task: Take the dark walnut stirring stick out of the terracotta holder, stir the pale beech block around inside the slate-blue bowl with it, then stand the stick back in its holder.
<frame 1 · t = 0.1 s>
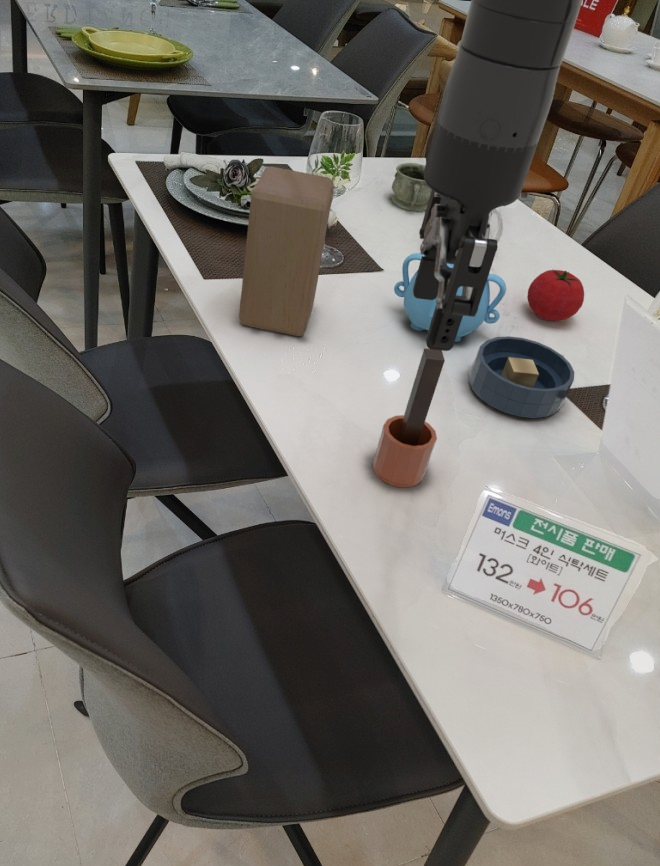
hand: (430, 321, 67), 26 cm above the table, tool pointing down, fingers open, 8 cm apart
alarm clock: (451, 192, 161), on the table
mug: (461, 253, 140), on the table
holder: (398, 470, 93), on the table
block: (514, 386, 108), point 1 cm above the table, touching bowl
wooden block: (276, 317, 115), on the table
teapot: (440, 323, 120), on the table
bowl: (513, 392, 108), on the table
tomato: (546, 316, 126), on the table
vessel: (410, 204, 153), on the table
stick: (399, 467, 93), resting on holder
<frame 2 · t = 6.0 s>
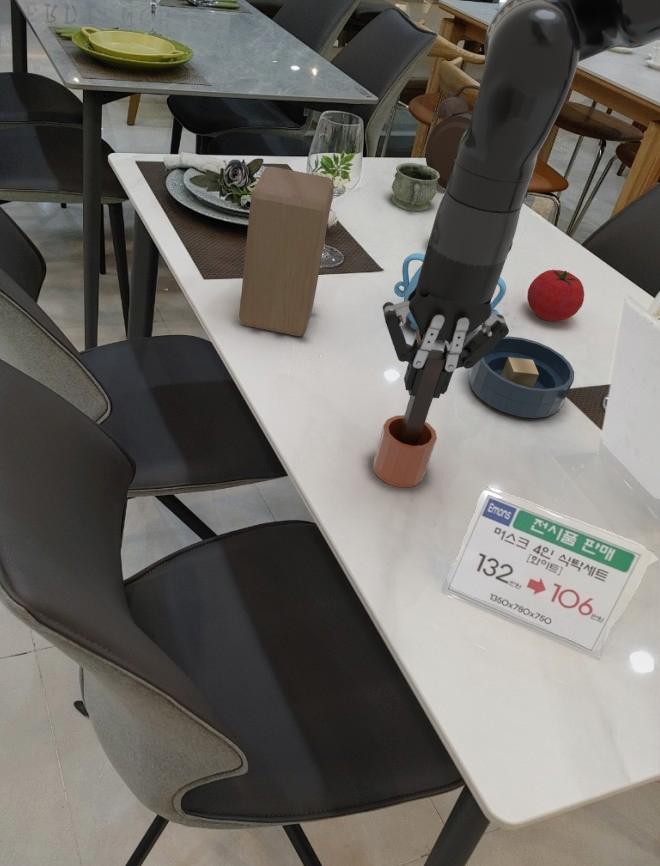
hand: (422, 392, 85), 12 cm above the table, tool pointing down, fingers closed on stick, 2 cm apart
stick: (399, 467, 93), point 1 cm above the table, touching gripper, holder
everything else where it was.
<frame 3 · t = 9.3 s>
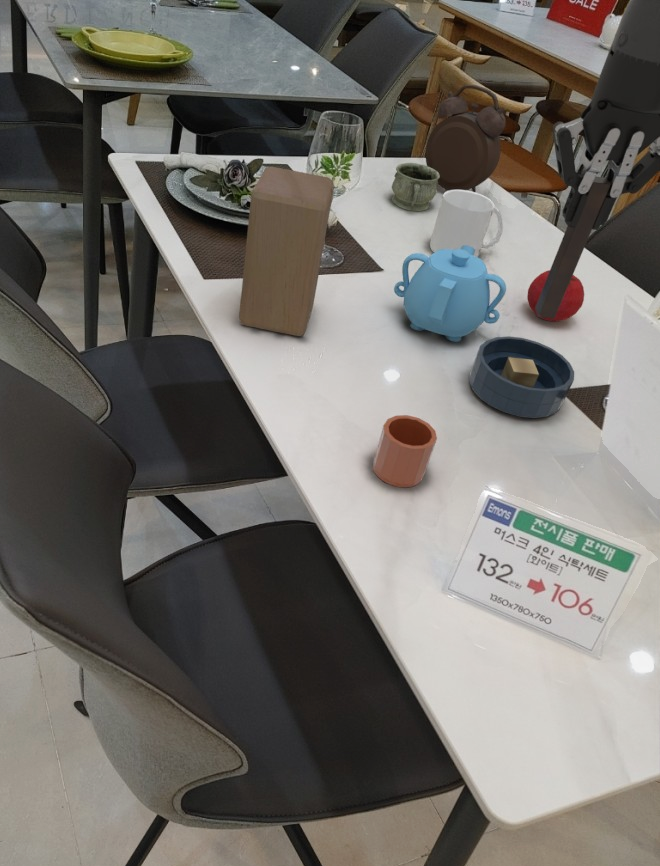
hand: (580, 224, 85), 27 cm above the table, tool pointing down, fingers closed on stick
stick: (544, 313, 93), point 16 cm above the table, touching gripper
everything else where it was.
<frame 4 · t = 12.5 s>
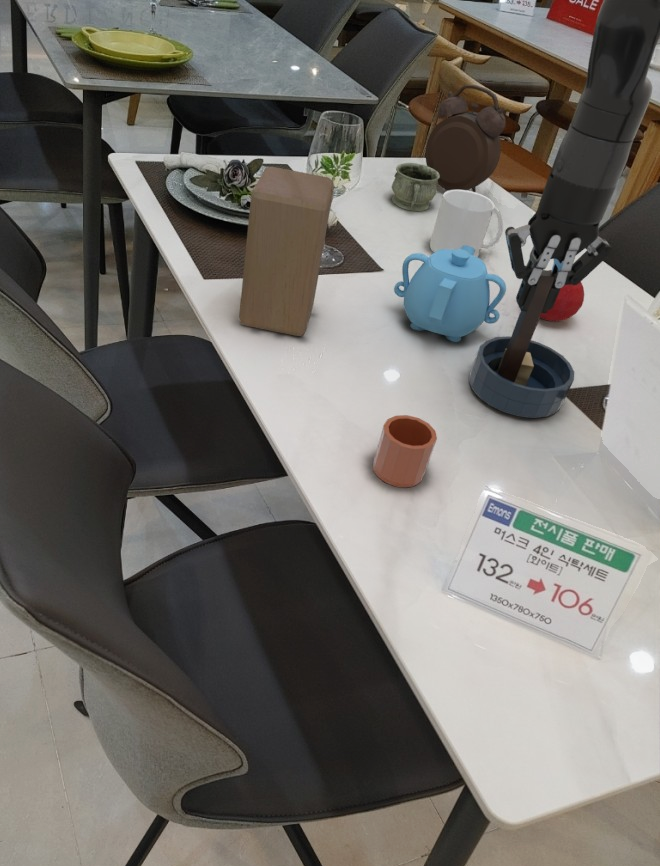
hand: (531, 308, 100), 13 cm above the table, tool pointing down, fingers closed on stick, 2 cm apart
block: (510, 378, 110), point 1 cm above the table, touching bowl, stick
stick: (504, 381, 107), point 2 cm above the table, touching block, gripper
everything else where it was.
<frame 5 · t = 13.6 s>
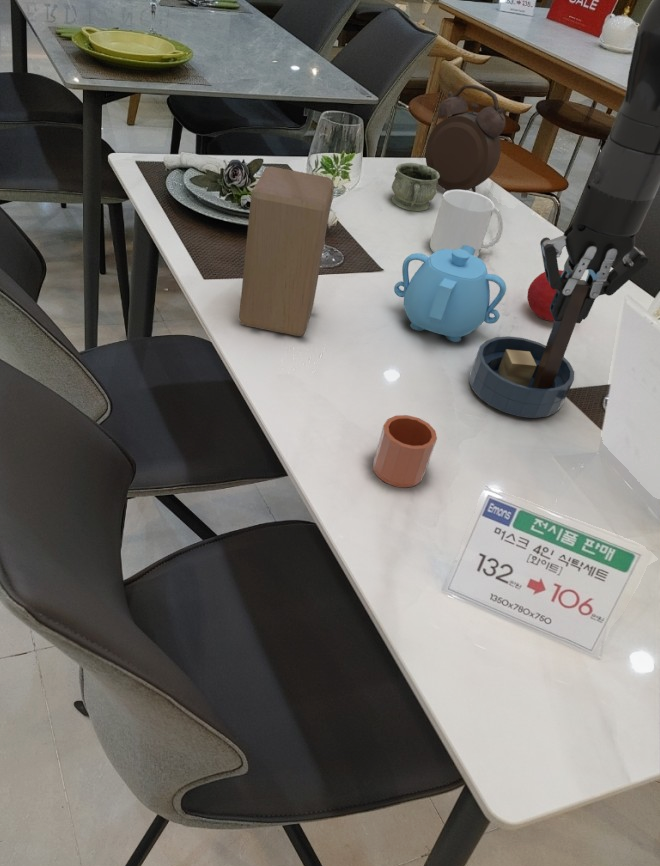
hand: (565, 318, 100), 12 cm above the table, tool pointing down, fingers closed on stick, 2 cm apart
block: (512, 378, 110), point 1 cm above the table, touching bowl
stick: (538, 394, 106), point 2 cm above the table, tilted 8°, touching gripper
everything else where it was.
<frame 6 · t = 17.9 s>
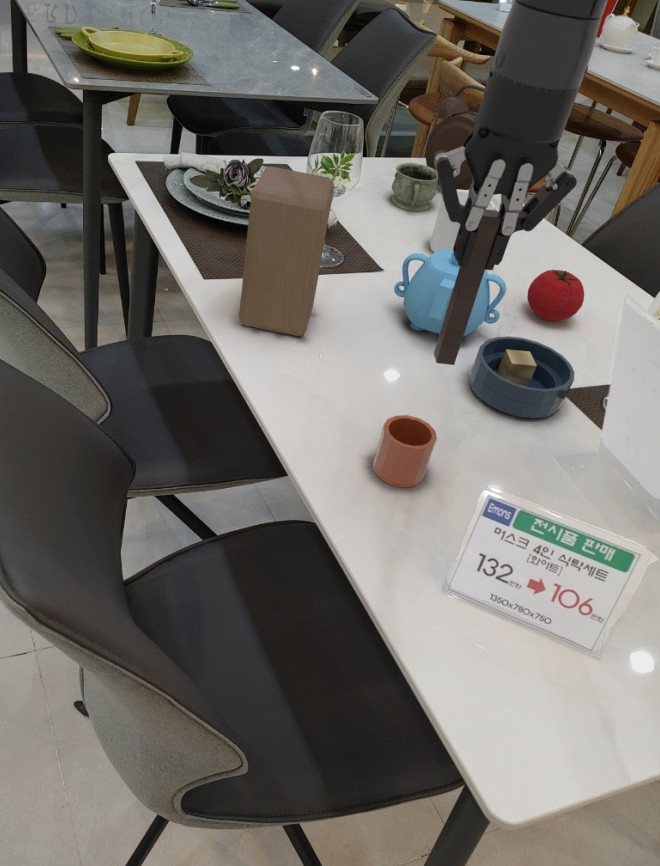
hand: (473, 264, 76), 26 cm above the table, tool pointing down, fingers closed on stick
stick: (443, 359, 83), point 15 cm above the table, touching gripper
everything else where it was.
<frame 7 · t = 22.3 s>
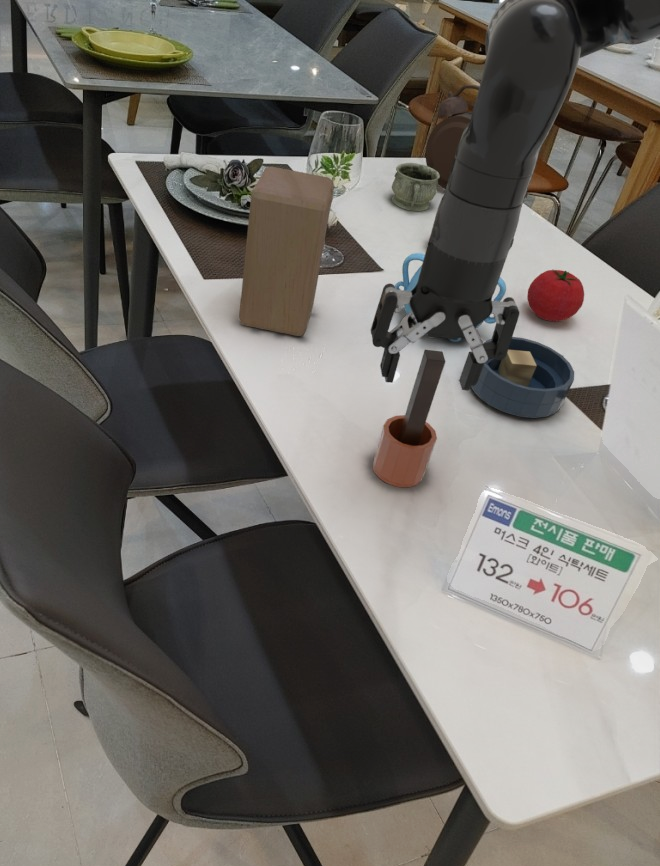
hand: (425, 382, 84), 13 cm above the table, tool pointing down, fingers open, 8 cm apart
stick: (399, 468, 92), resting on holder
everything else where it was.
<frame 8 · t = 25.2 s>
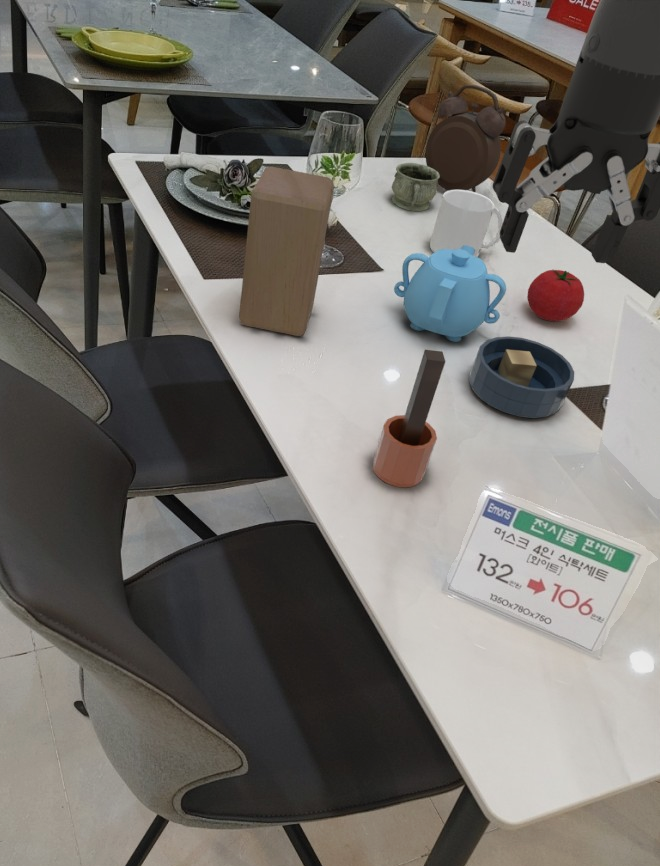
hand: (552, 254, 70), 30 cm above the table, tool pointing down, fingers open, 8 cm apart
nothing on the table moved.
at the end: block moved 2.1 cm from its start; block inside the target area in the bowl (2.6 cm from its centre), point 0.6 cm above the bowl's base; stick 0.2 cm off-centre in the holder, point 0.5 cm above the holder's base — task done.
